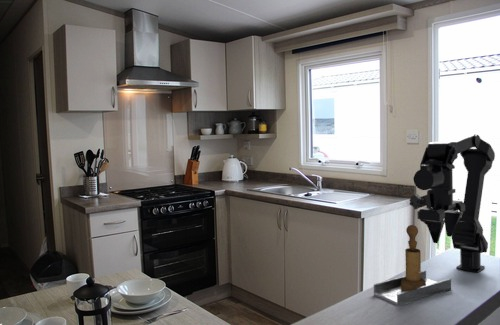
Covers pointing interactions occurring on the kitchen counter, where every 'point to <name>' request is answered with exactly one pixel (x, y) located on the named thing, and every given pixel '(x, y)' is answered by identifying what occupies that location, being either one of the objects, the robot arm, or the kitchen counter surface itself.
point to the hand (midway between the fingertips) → (442, 239)
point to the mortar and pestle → (412, 263)
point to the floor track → (399, 297)
